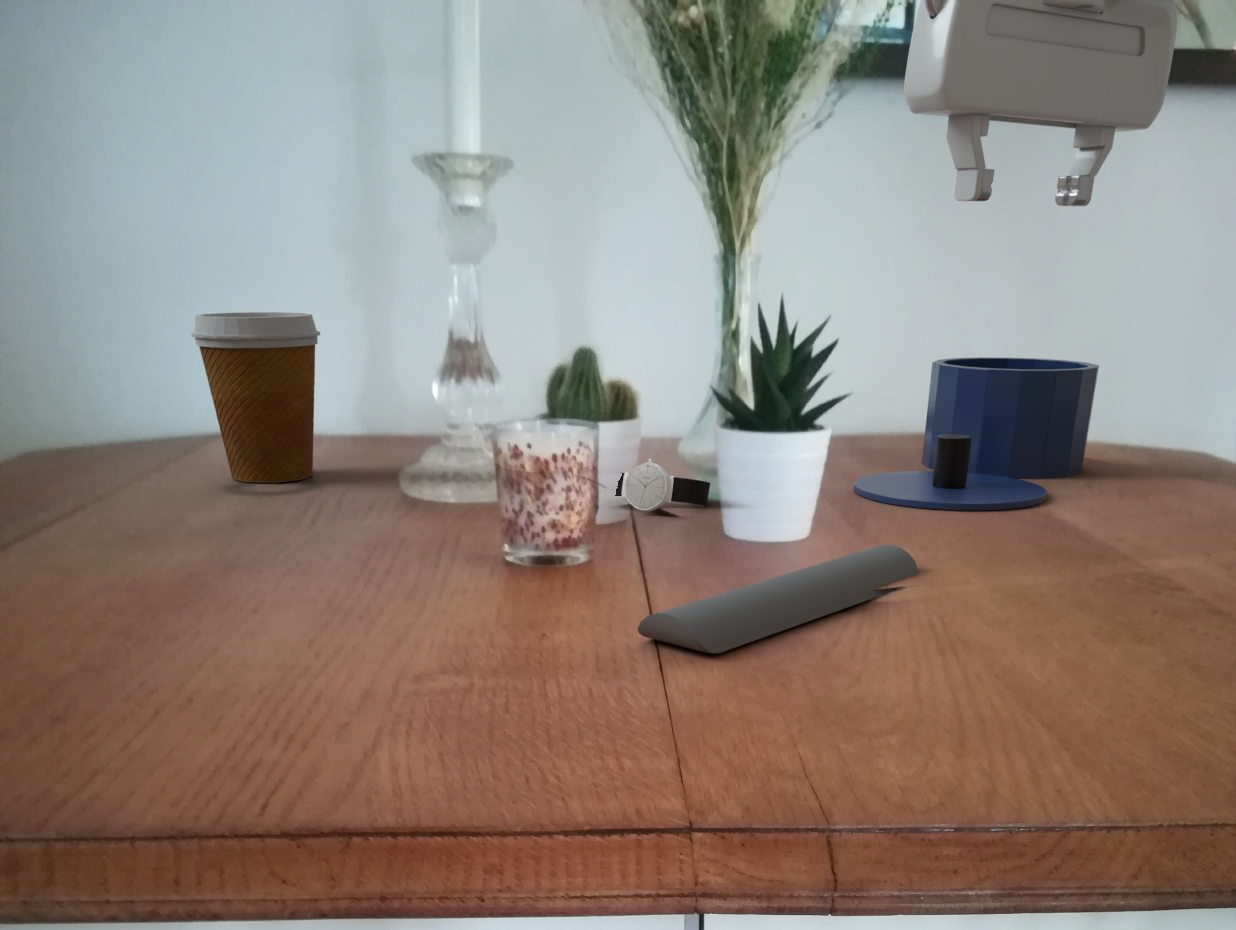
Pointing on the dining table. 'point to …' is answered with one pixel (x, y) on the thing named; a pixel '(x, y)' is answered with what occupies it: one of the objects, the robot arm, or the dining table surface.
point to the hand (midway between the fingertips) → (1023, 203)
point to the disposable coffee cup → (262, 390)
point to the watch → (659, 488)
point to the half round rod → (780, 601)
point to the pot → (1013, 414)
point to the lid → (950, 484)
